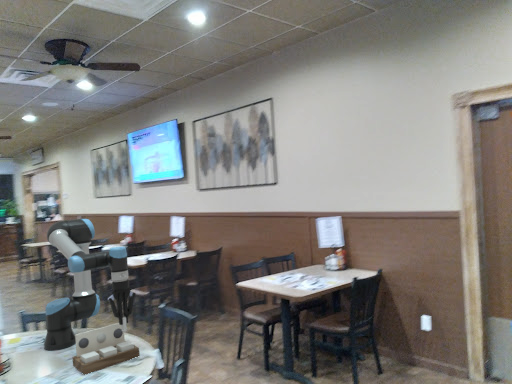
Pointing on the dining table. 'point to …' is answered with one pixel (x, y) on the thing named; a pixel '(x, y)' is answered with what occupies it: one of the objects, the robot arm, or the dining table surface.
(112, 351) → the middle button
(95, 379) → the dining table surface
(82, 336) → the pattern card
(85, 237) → the robot arm
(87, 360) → the button
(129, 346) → the button
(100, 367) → the button board
